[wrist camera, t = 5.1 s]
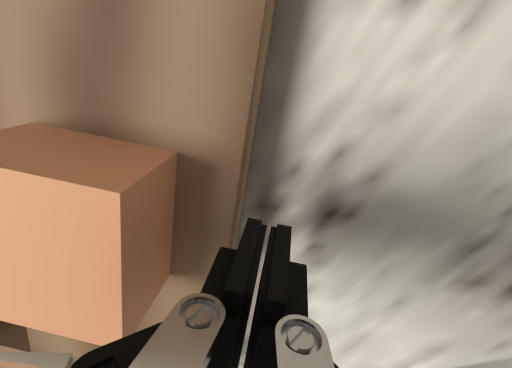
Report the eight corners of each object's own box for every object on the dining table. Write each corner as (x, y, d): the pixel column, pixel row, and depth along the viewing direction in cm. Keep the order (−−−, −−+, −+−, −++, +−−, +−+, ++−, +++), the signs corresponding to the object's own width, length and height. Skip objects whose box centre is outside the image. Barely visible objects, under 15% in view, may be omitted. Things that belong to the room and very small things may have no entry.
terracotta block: (177, 151, 12) (119, 193, 8) (169, 275, 14) (122, 351, 10) (32, 122, 12) (-87, 148, 8) (48, 246, 14) (-39, 310, 11)
